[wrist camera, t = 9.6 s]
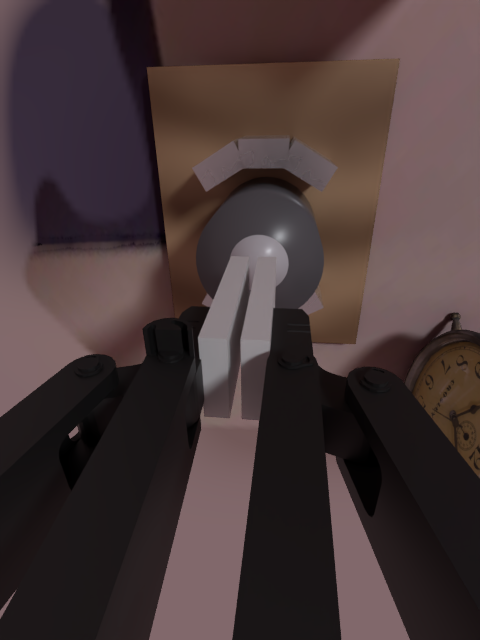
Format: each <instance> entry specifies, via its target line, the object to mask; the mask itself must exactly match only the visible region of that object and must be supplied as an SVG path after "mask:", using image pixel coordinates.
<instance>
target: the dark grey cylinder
mask: <svg viewBox="0 0 480 640" xmlns="http://www.w3.org/2000/svg"><path fill="white" fill-rule="evenodd" d="M231 256H249V297H250V292H251V288H252V283H253V278H254V273H255V269H256V264H257V259H258V257H276V288H275V308H287V309H298V308H300V307H301V306H302V305H304V304H305V303H306V302H307V301H308V300H309V298H310V297H311V296H312V295H313V293H314V292H315V290H316V289H317V287H318V285H319V282H320V280H321V277H322V273H323V267H324V252H323V246H322V243H321V239H320V235H319V232H318V228H317V224H316V221H315V217H314V213H313V210H312V207H311V205H310V203H309V201H308V200H307V198H306V196H305V195H304V194H303V193H302V192H301V191H300V190H299V189H298V188H297V187H296V186H294V185H293V184H291V183H289V182H287V181H285V180H282V179H279V178H274V177H260V178H255V179H251V180H249V181H246V182H244V183H243V184H241V185H239V186H238V187H237V188H235V189H234V190H233V191H232V192H231V193H230V194H229V196H228V197H227V198H226V200H225V201H224V202H223V204H222V205H221V206H220V207H219V209H218V210H217V211H216V213H215V214H214V215H213V217H212V218H211V219H210V221H209V222H208V223H207V225H206V226H205V228H204V230H203V231H202V233H201V236H200V238H199V241H198V245H197V250H196V266H197V272H198V275H199V278H200V281H201V283H202V285H203V287H204V289H205V290H206V292H207V293H208V295H209V296H210V297H211V298H212V299H214V297H215V295H216V292H217V290H218V287H219V285H220V282H221V280H222V277H223V275H224V272H225V270H226V268H227V265H228V263H229V260H230V258H231Z"/></svg>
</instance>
